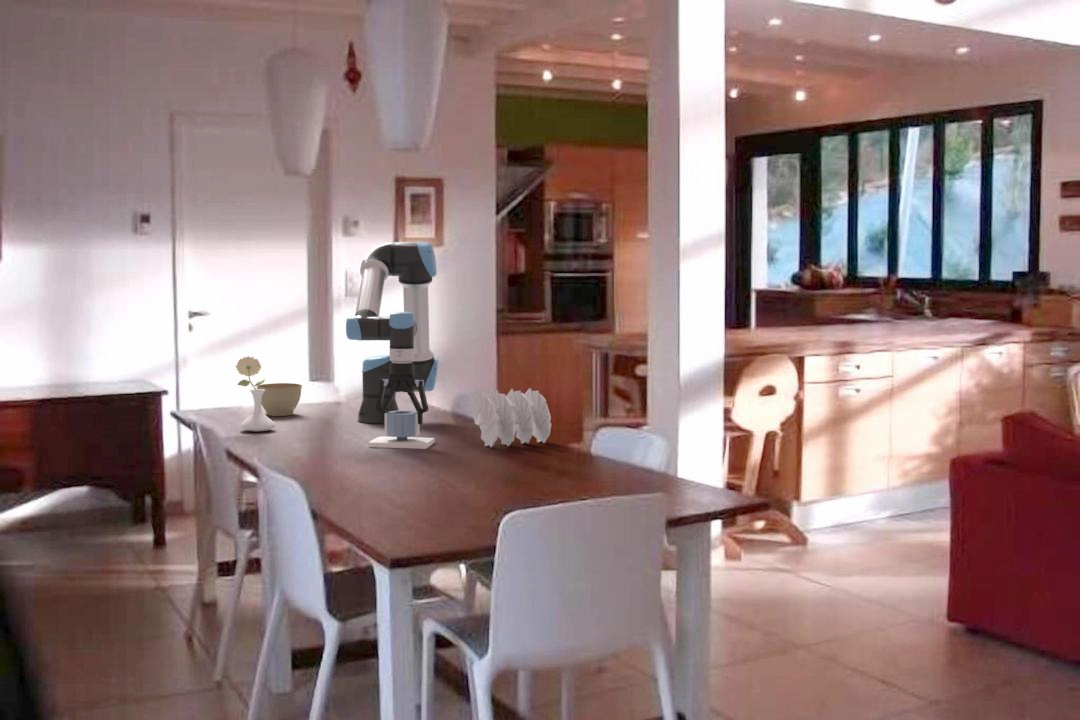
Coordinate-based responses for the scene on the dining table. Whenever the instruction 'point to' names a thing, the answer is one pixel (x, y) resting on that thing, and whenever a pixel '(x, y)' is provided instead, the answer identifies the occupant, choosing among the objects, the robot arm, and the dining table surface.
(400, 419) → the hub ring
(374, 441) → the post stand
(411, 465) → the dining table surface
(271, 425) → the flower in vase
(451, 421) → the dining table surface
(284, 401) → the planter bowl
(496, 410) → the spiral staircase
